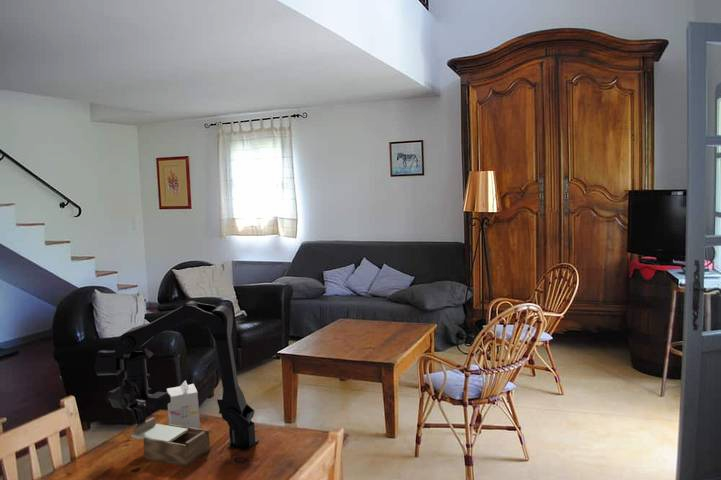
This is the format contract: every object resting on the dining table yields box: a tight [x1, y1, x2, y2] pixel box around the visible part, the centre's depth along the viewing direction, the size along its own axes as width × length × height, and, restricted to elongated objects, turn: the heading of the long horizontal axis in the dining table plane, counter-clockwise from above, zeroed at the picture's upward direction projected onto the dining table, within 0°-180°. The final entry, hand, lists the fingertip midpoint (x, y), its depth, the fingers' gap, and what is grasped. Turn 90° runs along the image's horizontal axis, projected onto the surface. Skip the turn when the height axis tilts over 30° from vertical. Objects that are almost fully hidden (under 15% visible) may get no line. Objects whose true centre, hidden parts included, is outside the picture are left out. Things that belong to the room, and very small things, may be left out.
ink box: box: [166, 380, 201, 429], centre depth 179 cm, size 9×8×13 cm
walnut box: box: [142, 423, 211, 468], centre depth 161 cm, size 14×10×6 cm
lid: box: [130, 417, 188, 442], centre depth 162 cm, size 13×8×3 cm, turn 67°
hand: (140, 426), depth 165 cm, fingers closed
